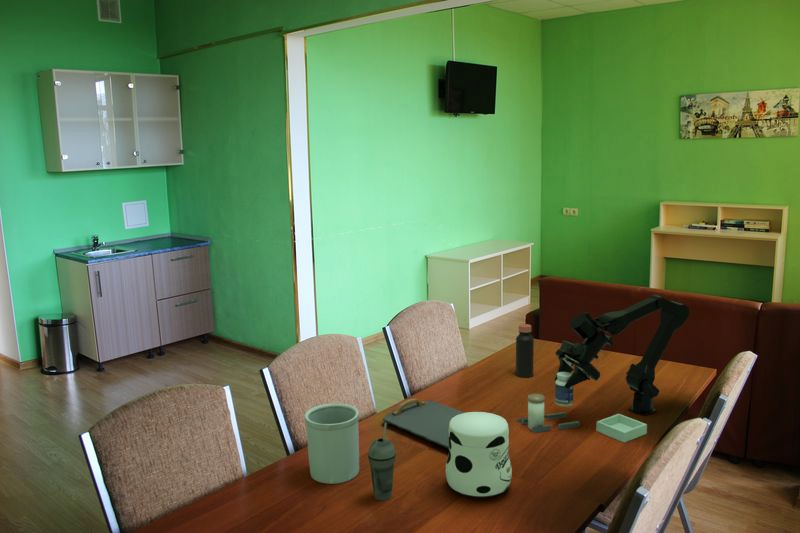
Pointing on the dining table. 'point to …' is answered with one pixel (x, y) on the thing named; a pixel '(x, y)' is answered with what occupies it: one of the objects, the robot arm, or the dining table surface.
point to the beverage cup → (382, 467)
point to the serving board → (424, 419)
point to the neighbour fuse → (535, 410)
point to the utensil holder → (333, 442)
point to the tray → (621, 427)
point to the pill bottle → (563, 390)
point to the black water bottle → (524, 351)
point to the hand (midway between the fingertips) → (560, 384)
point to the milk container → (478, 455)
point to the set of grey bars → (548, 427)
